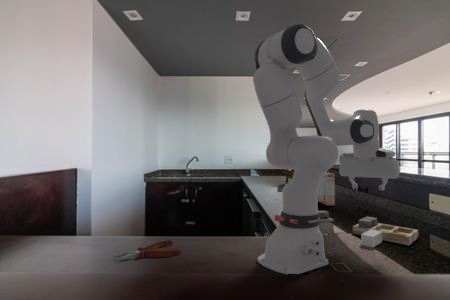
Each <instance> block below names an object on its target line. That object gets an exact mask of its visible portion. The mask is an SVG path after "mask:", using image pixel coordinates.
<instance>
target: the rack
mask: <svg viewBox="0 0 450 300" xmlns="http://www.w3.org/2000/svg"><path fill="white" fill-rule="evenodd" d="M369 230H376V231H381V232H382V241H387V242H391V243H397V244H399V245H405V246H410V245H412V244H413V243H414V242H415V241H416V240H417V238H418V237H419V229H414V228H409V227H405V226H404V227H403V226H397V225H392V224H386V223H380V222H378V218H377V217H373V216H365V217H362V218H361V219H358V223H357V224H355V225H352V234H354V235H359V236H361V234H363V233H365V232H367V231H369ZM418 239H419V238H418Z"/></svg>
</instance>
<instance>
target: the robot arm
mask: <svg viewBox="0 0 450 300" xmlns="http://www.w3.org/2000/svg"><path fill="white" fill-rule="evenodd" d="M254 63H255V69H256V70H255V71H254V73H253V76H252V80H253V87H254V90H255V93H256V96H257V100H258V103H259V106H260V108H261V110H262V113H263V115H264V118H265V121H266V123H267V126H268V129H269V136H270V137H269V138H270V139H269V143H268V145H267V147H266V151H265V158H266V160H267V162H268V163H269V165H271V166H273V167H275V168H279V169H281V170H282V169H283V170H293V175H292V177H291V180H290V181H289V182H286V184H285V185H284V186H283V188H282V189H281V190H282V193H281V194H282V211H281V212H280V214H274V217H273V220H274V221H275V222H278V223H279V224H278V225H277V227H276V228H275V230H274V231H273V232H272V233H271V234H270V236H269V237H268V238H267V240H266V242H265V248H264V253H262V254H261V255H259V256H257V260H256V261H257V262H258V263H259V264H260V266H261V265H262V266H263V267H265V268H267V269H269V270H271V271H274V272H276V273H281V274H285V275H288V274H297V275H300V274H303V273H306V272H309V271H312V270H315V269H319V268H321V267H324V266H327V265H330V264H329V259H328V258H327V257H326V254H325V245H324V236H323V233H322V232H321V230H320V227H319V225H320V222H319V220H320V217H319V213H318V211H319V207H318V203H319V202H318V189H319V185H320V182H321V179H322V177H323V176H324V174H325V173H326V172H327V173H328V171H329V170H330V169H332V168H333V166H335V164H336V162H339V169H338V171H339V175H340V176H341V177H348V180H349V183H351V185H352V186H351V189H358V188H359V185H358V183H356V182H355V178H374V179H376V178H377V179H381V182H382V183H381V184H380V185H378V190H379V191H385V189H386V187H385V186H386V185H387V183H388V181H389V179H397V178H399V176H400V167H399V162H398V159H396V158H395V156H396V154H395V153H396V152H395V151H394V150H390V149H387V148H382V147H381V146H380V140H379V135H380V127H379V126H380V125H379V118H378V115H377V113H376V110H373V109H357V110H355V111H354V112H353V113H352V114H353V115H352V116H350V117H349V118H345V119H340V120H339V119H337V120H333V119H331V118H329V115H328V111H327V108H326V106H325V104H324V100H325V99H326V98H327V97H328V96H329V95H331V94H332V93H333V92H334V91H335V90H336V88H337V87H338V85H339V83H340V80H341V74H340V73H341V72H340V70H339V69H340V68H339V67H338V66H337V63H336V61H335V60H334V57H333V56H332V54H331V52H330V51H329V49H328V48H327V47H326V45H325V44H324V43H323V42H322V40H320V38H319V37H316V35H315V33H314V31H313V30H312V29H311V28H310V27H309V26H307V25H305V24H301V23H298V24H293V25H289V26H288V27H286V29H283V30H281V31H278V32H276V33H274V34H272V35H270V36H269V37H268V38H267V39H265V40H263V41H261V42H260V44H259V45H258V46H257V48H255V51H254ZM291 68H295V69H296V70H297V71H298V73H299V76H300V78H301V79H302V81H303V83H304V85H305V86H304V87H305V91H304V100H305V103H306V106H307V109H308V112H309V113H310V116H311V119H312V123H313V124H314V126H315V128H316V135H315V134H313V135H304V136H303V135H300V136H299V135H298V132H297V126H298V125H299V124H300V122H301V120H302V118H303V111H302V107H301V105H300V102H299V100H298V97H297V95H296V92H295V89H294V87H293V84H292V83H291V81H290V79H289V71H290V69H291ZM338 146H340V147H342V146H352V147H353V149H352V150H353V152H348V153H347V152H344V153H342V154H340V156H339V148H338ZM338 158H339V161H337V160H338Z"/></svg>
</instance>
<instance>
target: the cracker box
mask: <svg viewBox="0 0 450 300" xmlns="http://www.w3.org/2000/svg"><path fill="white" fill-rule="evenodd" d="M335 184H336V183H335V173H332V172H328V171H327V172H326V173H325V174H324V176H323V177H322V179H321V182H320V185H319V189H318V203H320V204H322V205H325V206H328V207H329V206H335V205H336V204H335V203H336V195H335V194H336V191H335V189H336V187H335V186H336V185H335Z"/></svg>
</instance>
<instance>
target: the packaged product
mask: <svg viewBox="0 0 450 300" xmlns="http://www.w3.org/2000/svg"><path fill="white" fill-rule="evenodd" d="M318 213H319V217H320V220H319V223H326V222H327V223H330V222H331V223H333V222H334V218H331V217H330V213H329V211H327V210H318Z"/></svg>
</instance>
